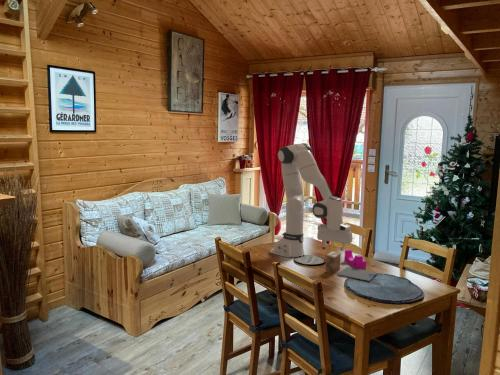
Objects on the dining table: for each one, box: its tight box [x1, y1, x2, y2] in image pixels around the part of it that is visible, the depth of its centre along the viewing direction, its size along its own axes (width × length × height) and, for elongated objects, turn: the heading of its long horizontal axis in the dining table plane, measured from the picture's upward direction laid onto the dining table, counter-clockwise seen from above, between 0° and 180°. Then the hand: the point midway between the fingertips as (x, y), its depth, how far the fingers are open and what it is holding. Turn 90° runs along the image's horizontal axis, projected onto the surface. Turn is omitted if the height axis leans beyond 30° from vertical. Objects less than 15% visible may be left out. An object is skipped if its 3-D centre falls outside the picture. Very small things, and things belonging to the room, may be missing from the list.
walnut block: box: [325, 250, 342, 275], centre depth 236 cm, size 5×9×10 cm, turn 147°
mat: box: [336, 266, 379, 282], centre depth 231 cm, size 18×16×1 cm
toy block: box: [343, 249, 367, 269], centre depth 249 cm, size 15×6×8 cm, turn 15°
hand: (334, 249), depth 235 cm, fingers open, 8 cm apart
